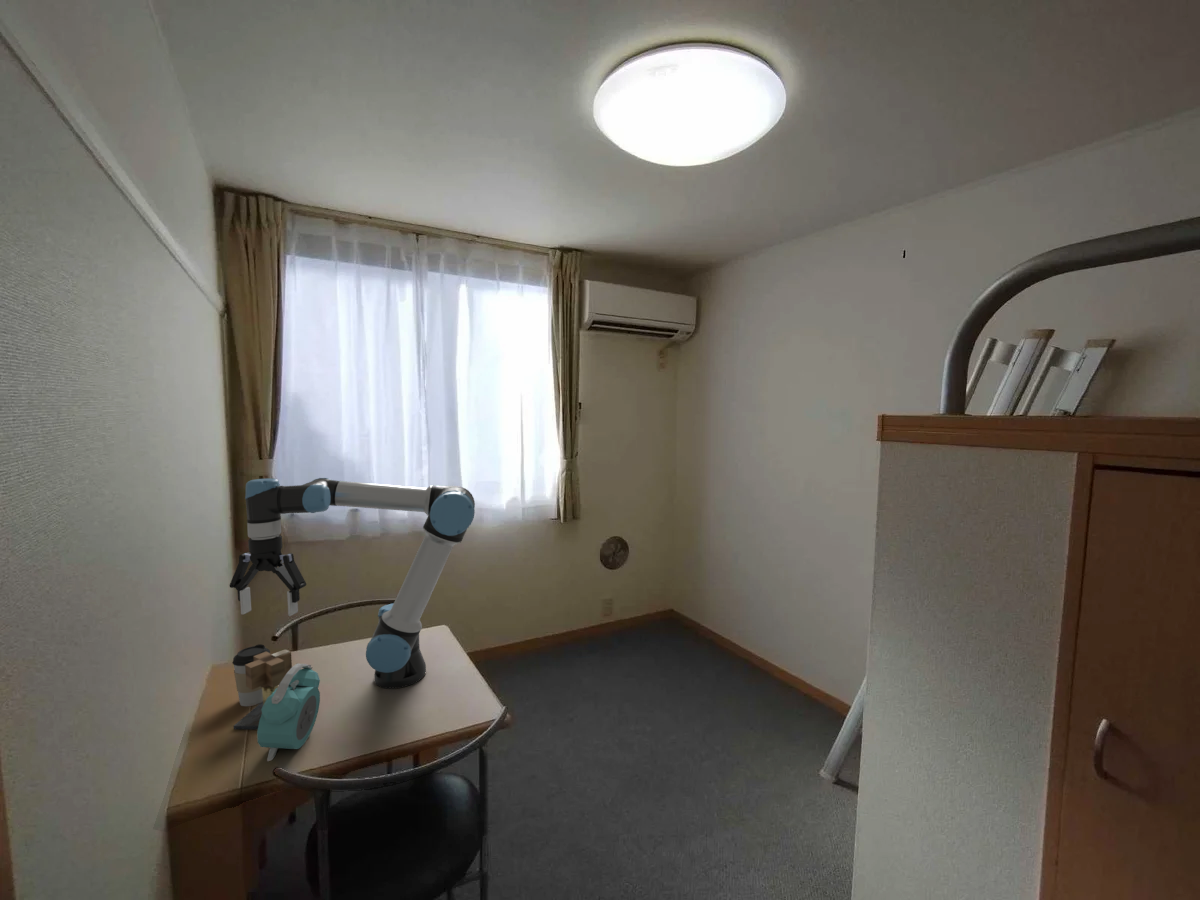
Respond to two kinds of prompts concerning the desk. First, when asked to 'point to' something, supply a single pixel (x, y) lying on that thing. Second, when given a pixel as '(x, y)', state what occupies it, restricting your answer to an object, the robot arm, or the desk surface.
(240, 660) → the coffee cup
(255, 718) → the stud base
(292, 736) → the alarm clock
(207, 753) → the desk surface
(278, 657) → the cross cap
